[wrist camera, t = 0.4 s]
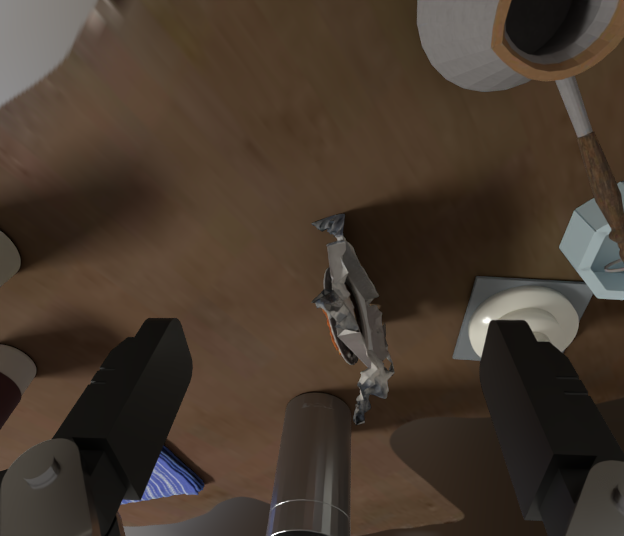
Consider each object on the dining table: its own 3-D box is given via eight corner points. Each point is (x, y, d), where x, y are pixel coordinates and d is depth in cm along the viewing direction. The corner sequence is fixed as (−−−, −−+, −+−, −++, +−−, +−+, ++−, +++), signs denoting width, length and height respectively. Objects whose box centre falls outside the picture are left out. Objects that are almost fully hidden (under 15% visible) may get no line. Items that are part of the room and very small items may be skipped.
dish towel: (210, 480, 73) (206, 496, 71) (110, 500, 80) (103, 515, 78) (148, 423, 65) (141, 440, 62) (44, 451, 72) (33, 467, 70)
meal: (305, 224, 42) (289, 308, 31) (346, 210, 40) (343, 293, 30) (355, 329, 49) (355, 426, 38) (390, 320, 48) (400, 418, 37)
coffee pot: (386, -40, 29) (410, -55, 17) (563, -156, 25) (761, -285, 13) (478, 206, 39) (535, 310, 27) (614, 151, 35) (754, 242, 23)
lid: (553, 362, 49) (594, 441, 40) (458, 356, 50) (479, 432, 41) (590, 288, 43) (648, 363, 34) (481, 282, 43) (511, 354, 35)
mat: (555, 363, 49) (556, 366, 49) (452, 356, 50) (453, 358, 50) (595, 282, 43) (597, 285, 42) (476, 275, 43) (477, 278, 43)
